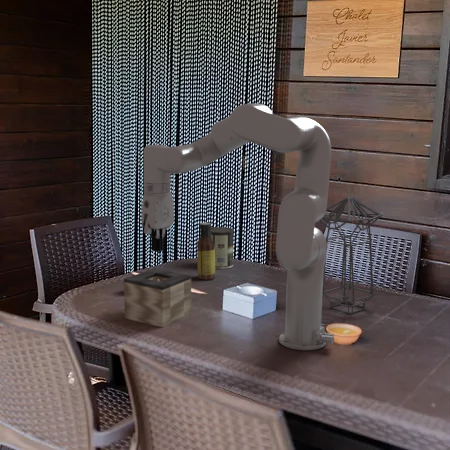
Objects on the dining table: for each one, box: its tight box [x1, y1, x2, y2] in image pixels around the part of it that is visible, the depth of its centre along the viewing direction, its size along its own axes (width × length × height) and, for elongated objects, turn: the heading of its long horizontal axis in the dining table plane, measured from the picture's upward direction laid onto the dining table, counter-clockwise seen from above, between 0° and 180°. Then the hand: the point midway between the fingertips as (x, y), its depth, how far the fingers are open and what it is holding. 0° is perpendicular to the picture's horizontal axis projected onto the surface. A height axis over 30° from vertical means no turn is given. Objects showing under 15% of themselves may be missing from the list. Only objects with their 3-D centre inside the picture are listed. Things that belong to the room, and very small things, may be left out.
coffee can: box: [210, 226, 235, 270], centre depth 260 cm, size 10×10×14 cm
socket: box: [123, 268, 192, 328], centre depth 203 cm, size 14×14×12 cm
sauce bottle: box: [196, 221, 216, 281], centre depth 243 cm, size 7×6×20 cm
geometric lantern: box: [319, 196, 384, 315], centre depth 211 cm, size 16×16×35 cm
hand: (157, 250), depth 200 cm, fingers closed
